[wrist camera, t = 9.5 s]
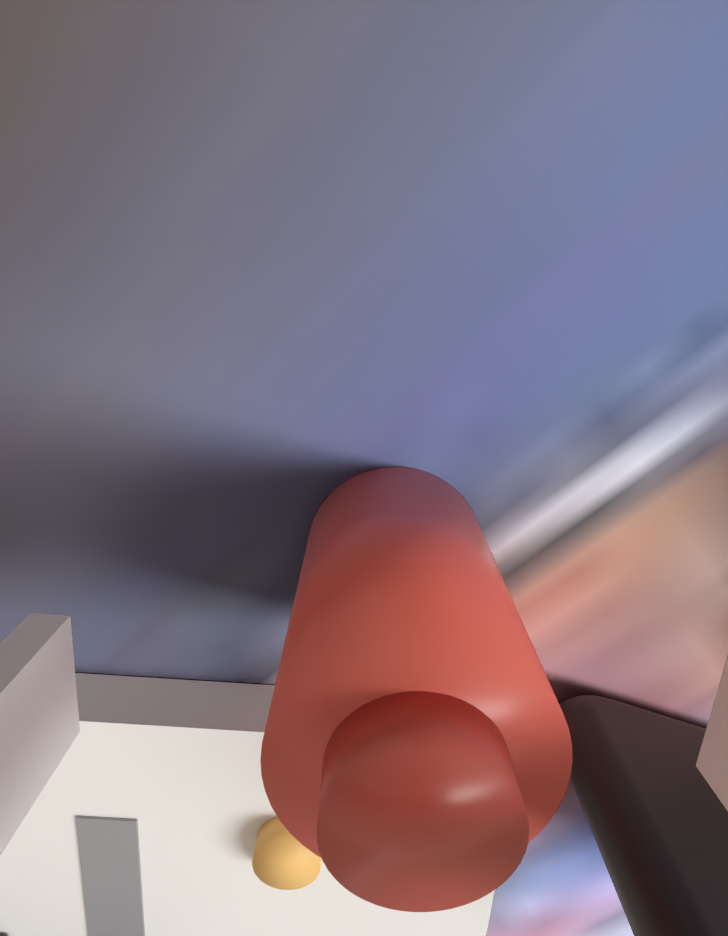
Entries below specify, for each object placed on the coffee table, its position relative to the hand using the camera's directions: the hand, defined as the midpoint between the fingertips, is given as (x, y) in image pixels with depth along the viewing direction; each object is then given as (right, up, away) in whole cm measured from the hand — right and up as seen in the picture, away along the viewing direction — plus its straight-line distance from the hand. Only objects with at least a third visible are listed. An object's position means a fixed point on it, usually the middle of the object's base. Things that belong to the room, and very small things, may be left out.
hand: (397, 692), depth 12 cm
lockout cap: (0, +2, +5) cm, 6 cm away
